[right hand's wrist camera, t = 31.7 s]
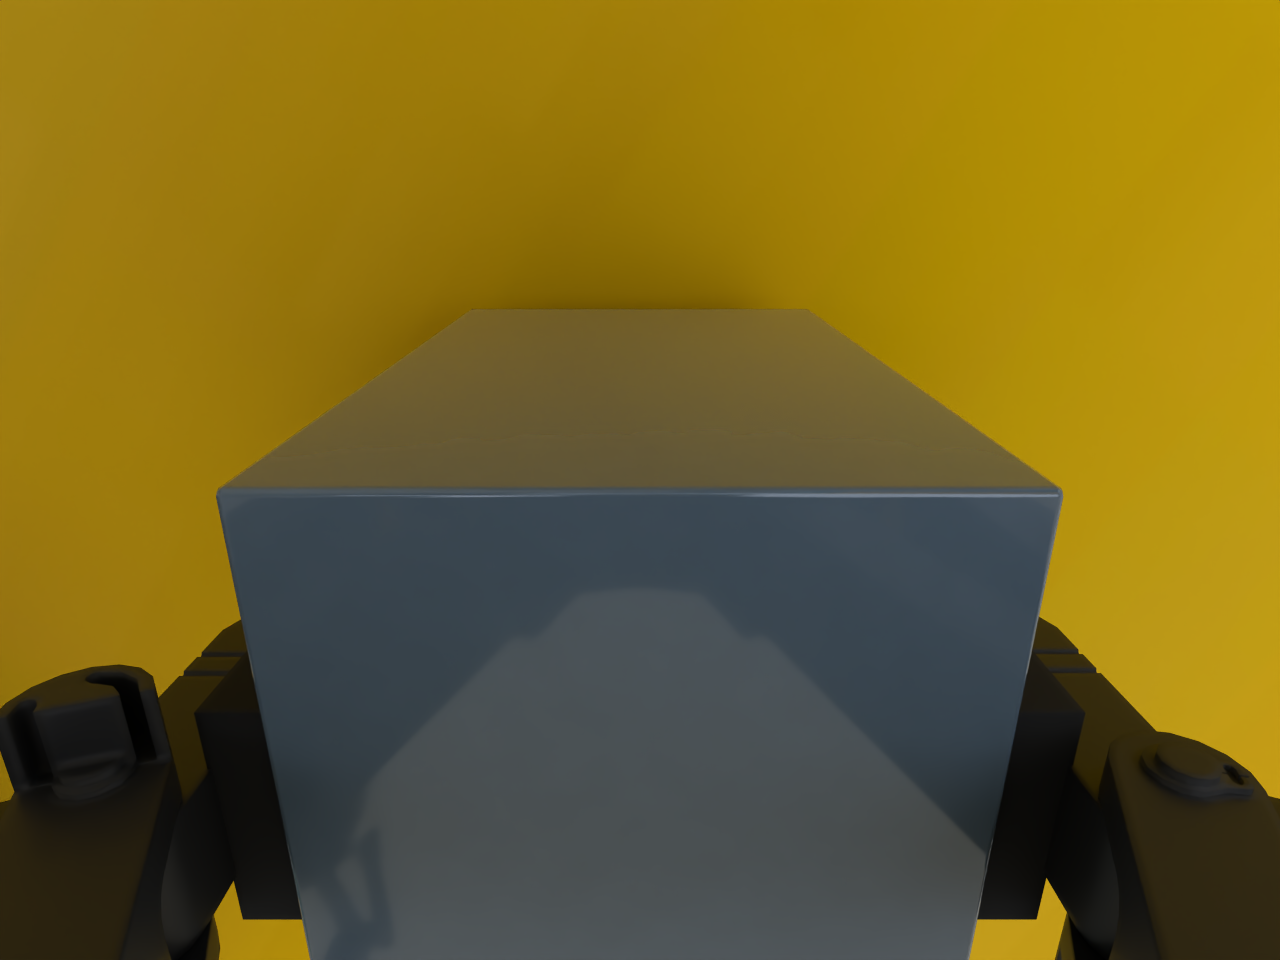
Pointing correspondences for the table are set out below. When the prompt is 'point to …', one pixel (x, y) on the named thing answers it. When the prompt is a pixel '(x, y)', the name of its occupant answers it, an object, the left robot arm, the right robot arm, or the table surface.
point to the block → (639, 644)
